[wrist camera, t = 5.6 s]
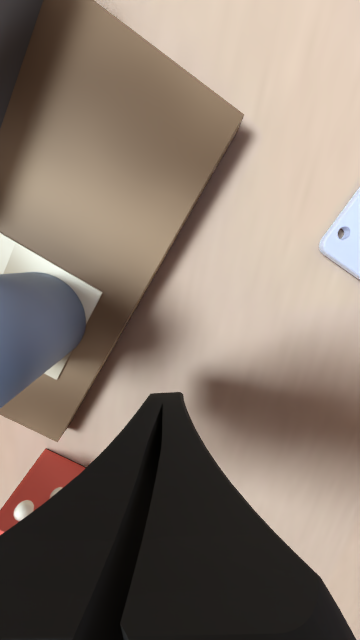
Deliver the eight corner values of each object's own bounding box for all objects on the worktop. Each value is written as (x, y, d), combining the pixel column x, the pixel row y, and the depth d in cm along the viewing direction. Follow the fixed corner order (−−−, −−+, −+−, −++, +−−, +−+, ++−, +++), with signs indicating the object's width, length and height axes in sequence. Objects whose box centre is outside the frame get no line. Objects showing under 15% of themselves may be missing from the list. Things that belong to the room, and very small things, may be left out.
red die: (47, 443, 13) (-17, 530, 9) (108, 472, 14) (74, 568, 9) (21, 492, 14) (-48, 590, 10) (78, 517, 15) (35, 621, 10)
